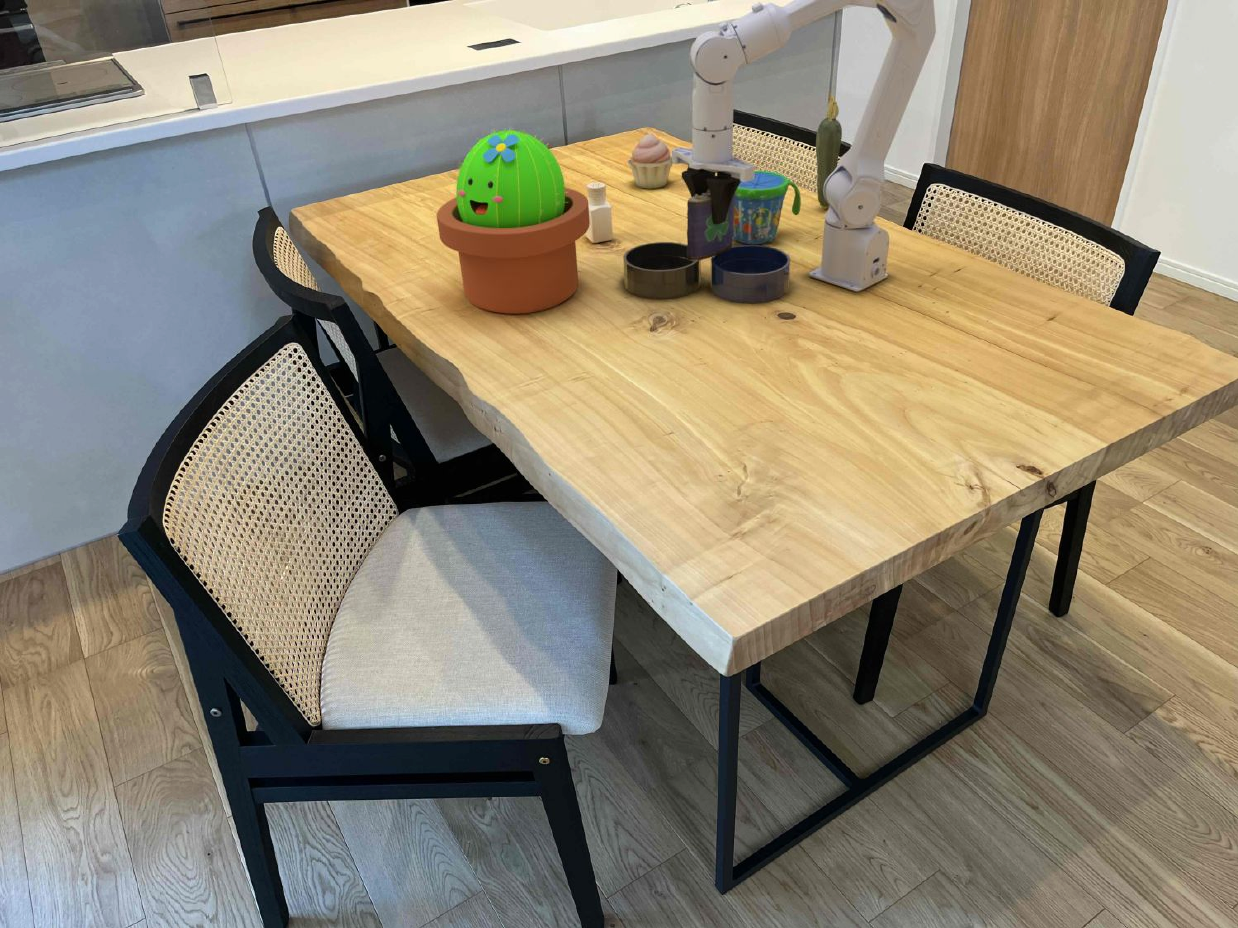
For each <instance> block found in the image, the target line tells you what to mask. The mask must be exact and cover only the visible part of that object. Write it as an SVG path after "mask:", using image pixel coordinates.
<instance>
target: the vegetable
mask: <svg viewBox="0 0 1238 928" xmlns="http://www.w3.org/2000/svg"><path fill="white" fill-rule="evenodd" d="M828 97H829V98H828V101H827V103H828V104H827V108H826V111H825V116H826V117H825V118H823V119H822V120H821V122H819V123H820V124H819V125H818V128H817V131H816V139H815V156H816V170H817V171H816V174H817V175H816V176H817V177H816V190H817V191H816V192H817V201H818V203H819V206H820V207H822V209H823V210H825V209H829V204H828V203H827V201H826V200H825V198H824V194H823V187H824V184H825V181H826V179H827V178H828V176H829V175H830V174H831V173H832V172H833V171H834V170H835V169H836V167H837V166H838V163H839V155H840V149H841V143H842V139H843V128H842V124H841V123H840V121H839V120H838V119H837V118H838V116H839V114H840V112H839V111H840V109H839V105H838V102H837V101H836V96H835V95H834V94H833V93H830V94H829V95H828Z"/></svg>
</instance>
